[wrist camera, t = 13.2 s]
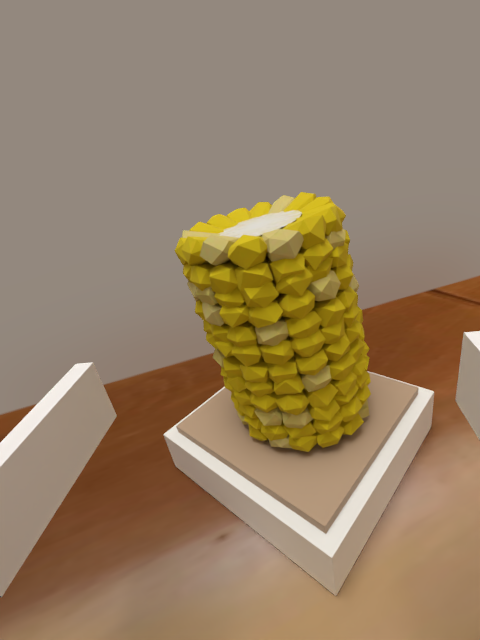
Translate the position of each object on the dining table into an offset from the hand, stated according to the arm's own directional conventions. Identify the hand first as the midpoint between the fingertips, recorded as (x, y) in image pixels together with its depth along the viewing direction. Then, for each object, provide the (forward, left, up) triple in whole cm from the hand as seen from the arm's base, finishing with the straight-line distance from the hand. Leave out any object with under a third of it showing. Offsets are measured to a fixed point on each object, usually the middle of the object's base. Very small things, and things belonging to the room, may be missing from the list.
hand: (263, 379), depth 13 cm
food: (-5, +8, -10) cm, 13 cm away
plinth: (-5, +8, -13) cm, 16 cm away
